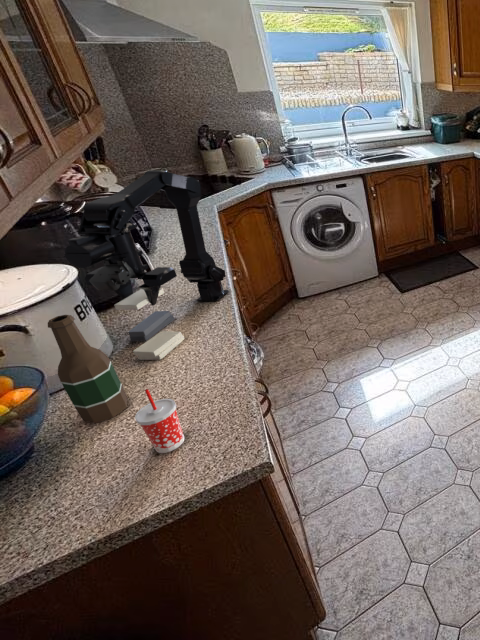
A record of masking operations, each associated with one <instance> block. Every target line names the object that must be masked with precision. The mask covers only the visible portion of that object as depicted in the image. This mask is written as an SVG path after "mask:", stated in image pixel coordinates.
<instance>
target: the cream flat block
mask: <svg viewBox="0 0 480 640" xmlns="http://www.w3.org/2000/svg"><path fill="white" fill-rule="evenodd" d="M184 340H185V336H184V334H183V333H182V331H172V330H171V331H170V330H160V331H159V332H158V333H156V334H155V335H154V336H152V337H151V338H150V339H148V340H147V341H144V343H142V344H141V345H140V346H138V347H137V348H135V349H133V351H132V353H133V355H134V356H135V357H137V358H138V360H139V361H152V360H155V361H156V360H160V361H161V360H162V359H164V358H165V357H166V356H167V355H168V354H170V353H171V352H172V351H173V350H174V349H175V348H176V347H178V346H179V345H180V344H181V343H182V342H183V341H184Z"/></svg>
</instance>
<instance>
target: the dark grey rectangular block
mask: <svg viewBox="0 0 480 640" xmlns="http://www.w3.org/2000/svg"><path fill="white" fill-rule="evenodd" d="M173 321H175V316H174V314H172V313H171V311H170V310H155V311H154V312H152V313H150V314H149V315H148V316H147V317H145V318H144V319H143V320H142V321H140V322H139V323H138V324H136V325H135V326H133V328H131V329H130V330H128V331H127V333H128V336H129V340H130V342H147V341H148V340H150V339H151V338H152V337H154V336H155V335H157V334H158V333H159V332H161V331H162V330H163V329H164V328H166V327H167V326H168V325H169V324H171V323H172V322H173Z"/></svg>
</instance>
